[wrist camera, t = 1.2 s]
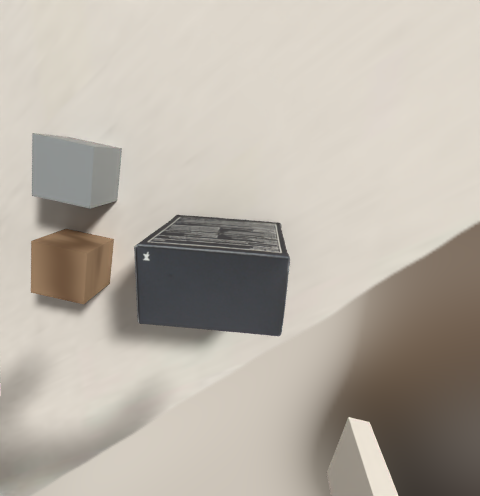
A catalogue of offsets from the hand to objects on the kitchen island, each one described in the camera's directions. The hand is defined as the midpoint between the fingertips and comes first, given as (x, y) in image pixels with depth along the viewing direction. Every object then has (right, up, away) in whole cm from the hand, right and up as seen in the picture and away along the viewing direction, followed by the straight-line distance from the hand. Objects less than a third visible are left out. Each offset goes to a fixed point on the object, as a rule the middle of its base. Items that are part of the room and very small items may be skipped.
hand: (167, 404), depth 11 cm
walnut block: (-13, +5, +21) cm, 25 cm away
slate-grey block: (-11, +13, +18) cm, 25 cm away
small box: (+1, +6, +20) cm, 21 cm away
